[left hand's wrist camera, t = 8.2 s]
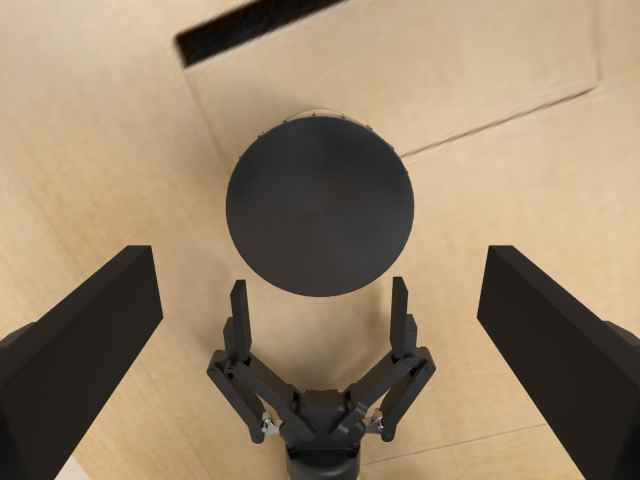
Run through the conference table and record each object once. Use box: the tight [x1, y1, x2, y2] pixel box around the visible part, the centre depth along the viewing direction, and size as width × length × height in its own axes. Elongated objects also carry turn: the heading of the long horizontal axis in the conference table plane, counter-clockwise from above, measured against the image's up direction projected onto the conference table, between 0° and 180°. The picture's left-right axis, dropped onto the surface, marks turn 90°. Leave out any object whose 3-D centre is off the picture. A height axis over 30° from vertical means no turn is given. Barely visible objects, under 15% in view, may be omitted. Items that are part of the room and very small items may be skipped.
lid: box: [226, 111, 414, 297], centre depth 21 cm, size 10×10×2 cm
